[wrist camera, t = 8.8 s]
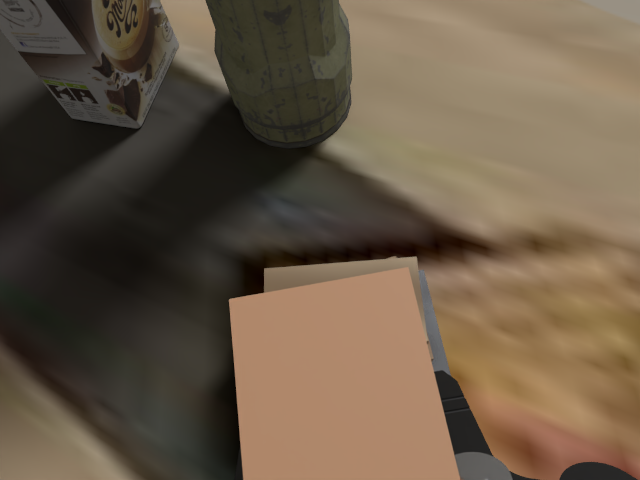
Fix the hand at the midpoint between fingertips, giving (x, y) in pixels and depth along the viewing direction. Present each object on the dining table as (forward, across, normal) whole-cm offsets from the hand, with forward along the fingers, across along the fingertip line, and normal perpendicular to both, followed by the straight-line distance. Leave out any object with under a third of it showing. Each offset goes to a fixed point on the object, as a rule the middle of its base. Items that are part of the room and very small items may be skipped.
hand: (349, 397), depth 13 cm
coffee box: (+34, +14, -9) cm, 37 cm away
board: (+3, 0, +6) cm, 7 cm away
